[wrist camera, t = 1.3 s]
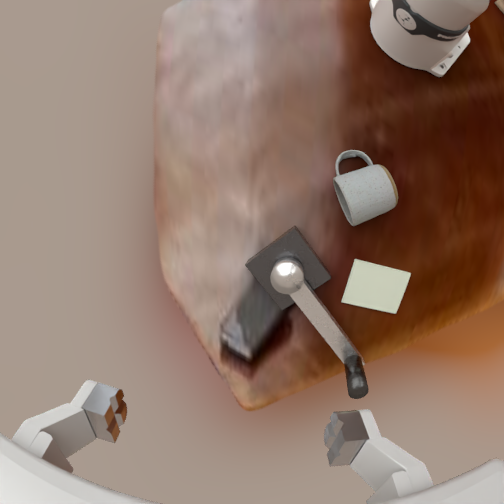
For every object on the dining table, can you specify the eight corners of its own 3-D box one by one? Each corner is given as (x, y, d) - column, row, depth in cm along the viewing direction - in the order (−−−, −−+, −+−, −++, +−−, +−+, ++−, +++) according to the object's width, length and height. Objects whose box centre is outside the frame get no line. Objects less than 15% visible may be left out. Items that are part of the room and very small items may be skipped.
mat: (341, 301, 48) (341, 302, 47) (354, 258, 45) (355, 259, 45) (395, 312, 46) (395, 313, 46) (410, 272, 44) (411, 273, 44)
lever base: (247, 260, 49) (244, 264, 46) (295, 225, 46) (294, 228, 43) (283, 304, 50) (282, 310, 47) (330, 272, 47) (331, 278, 44)
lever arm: (266, 268, 46) (255, 294, 36) (291, 250, 44) (287, 273, 34) (345, 367, 48) (350, 405, 38) (367, 354, 47) (377, 391, 37)
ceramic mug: (391, 204, 42) (406, 209, 34) (347, 222, 44) (355, 231, 37) (366, 143, 40) (378, 137, 33) (321, 161, 42) (324, 157, 35)
